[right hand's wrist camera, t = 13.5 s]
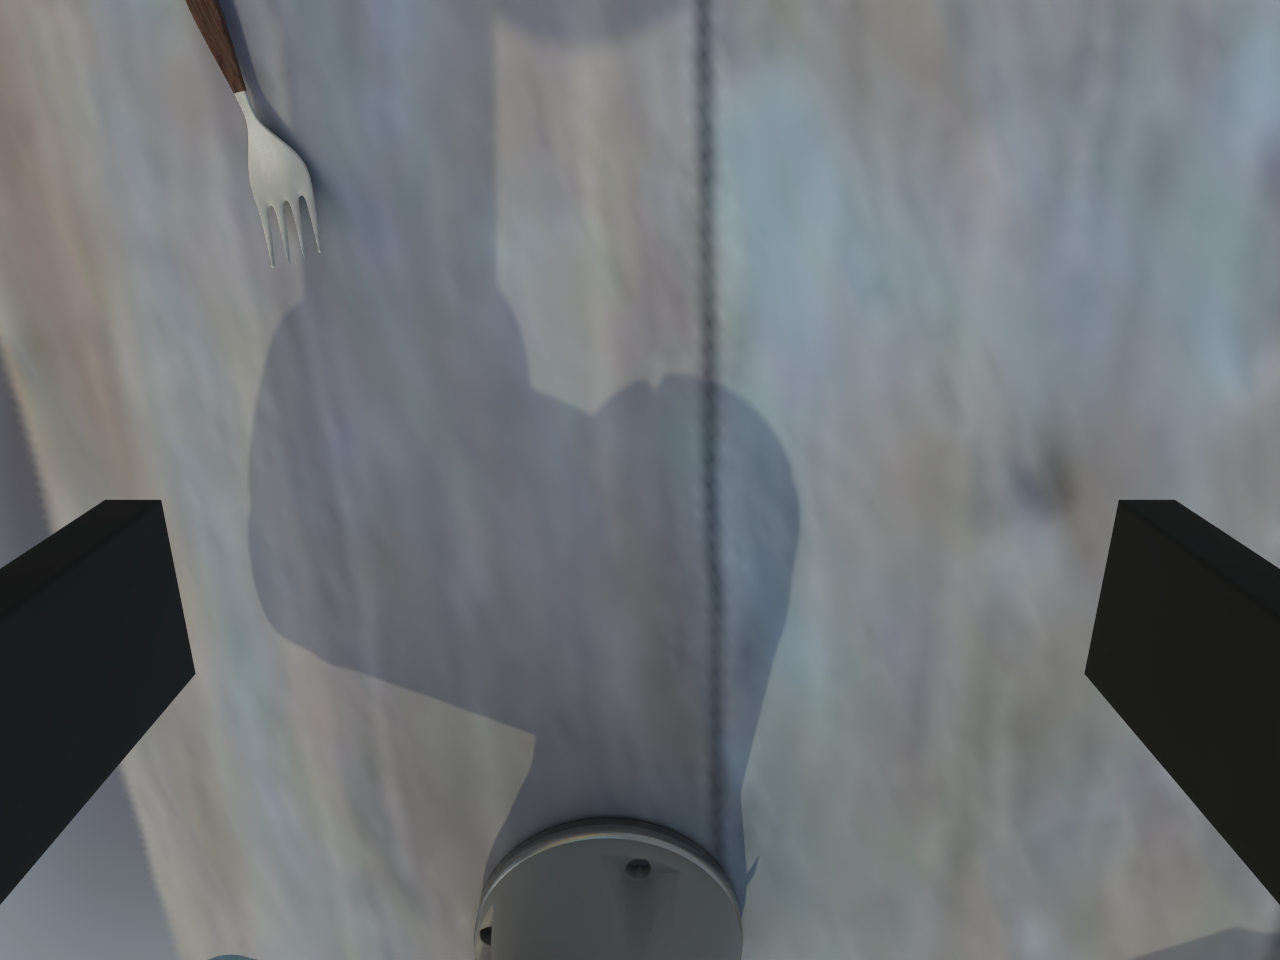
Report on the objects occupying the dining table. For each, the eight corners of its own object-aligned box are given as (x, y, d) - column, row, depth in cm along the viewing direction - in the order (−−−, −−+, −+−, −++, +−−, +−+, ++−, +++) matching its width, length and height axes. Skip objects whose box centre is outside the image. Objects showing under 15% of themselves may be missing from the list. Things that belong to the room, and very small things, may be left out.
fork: (172, -169, 34) (145, -187, 32) (340, 246, 39) (325, 251, 37) (110, -145, 34) (79, -163, 32) (285, 264, 40) (267, 270, 38)
